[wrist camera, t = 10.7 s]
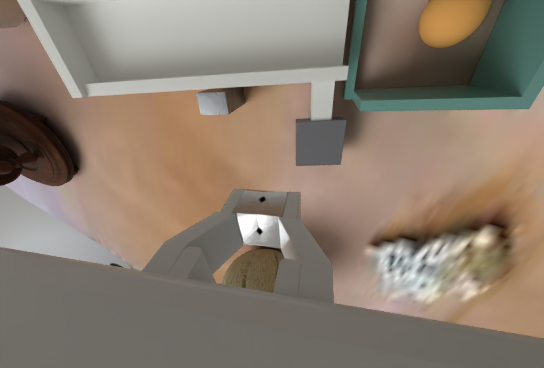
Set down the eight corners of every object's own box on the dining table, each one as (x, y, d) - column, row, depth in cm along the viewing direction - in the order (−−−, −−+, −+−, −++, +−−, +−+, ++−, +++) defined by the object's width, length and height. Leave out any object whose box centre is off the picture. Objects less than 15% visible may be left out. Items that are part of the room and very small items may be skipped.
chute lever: (55, -6, 16) (6, -20, 14) (364, -39, 15) (384, -63, 12) (138, 166, 25) (119, 181, 22) (338, 159, 23) (345, 174, 20)
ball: (416, -15, 15) (484, -36, 12) (450, -13, 16) (519, -31, 13) (400, 50, 17) (454, 47, 14) (431, 48, 18) (486, 44, 15)
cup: (364, -74, 15) (385, -137, 10) (569, -114, 12) (735, -225, 7) (343, 97, 21) (349, 111, 16) (474, 94, 19) (529, 108, 14)
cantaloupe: (260, 218, 33) (225, 313, 21) (326, 261, 36) (329, 368, 24) (224, 255, 42) (184, 339, 29) (280, 288, 44) (265, 378, 32)
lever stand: (193, -47, 17) (153, -77, 13) (224, -53, 17) (193, -87, 13) (221, 104, 24) (201, 114, 20) (244, 103, 24) (228, 114, 19)
